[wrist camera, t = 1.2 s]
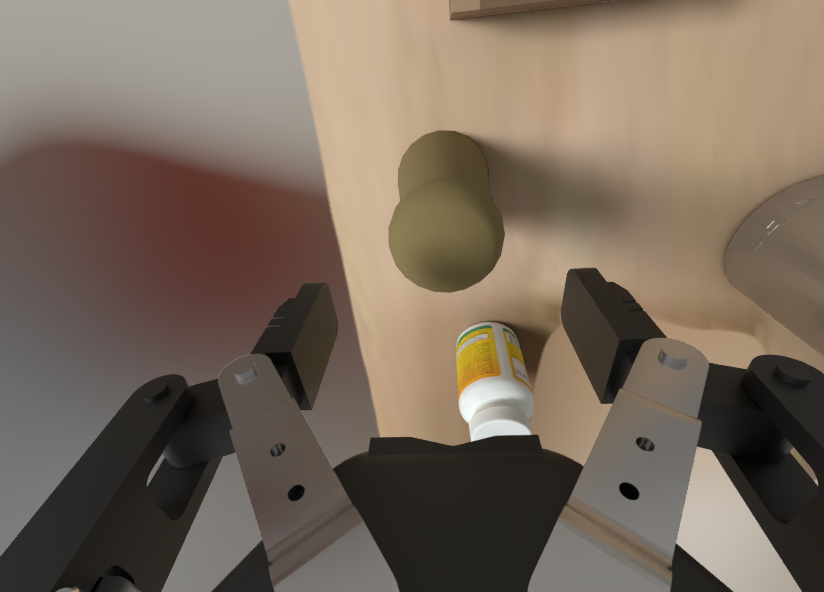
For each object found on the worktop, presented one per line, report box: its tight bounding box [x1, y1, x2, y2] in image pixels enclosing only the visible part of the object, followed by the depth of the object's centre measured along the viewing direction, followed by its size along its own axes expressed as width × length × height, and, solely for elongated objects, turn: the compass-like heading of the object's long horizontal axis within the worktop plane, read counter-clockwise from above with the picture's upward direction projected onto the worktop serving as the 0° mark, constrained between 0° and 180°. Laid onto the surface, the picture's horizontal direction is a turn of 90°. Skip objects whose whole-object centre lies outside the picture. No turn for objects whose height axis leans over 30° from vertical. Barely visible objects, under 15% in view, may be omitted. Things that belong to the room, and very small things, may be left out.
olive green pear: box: [389, 131, 505, 292], centre depth 20 cm, size 6×6×11 cm
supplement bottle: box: [456, 322, 534, 442], centre depth 28 cm, size 5×5×10 cm
